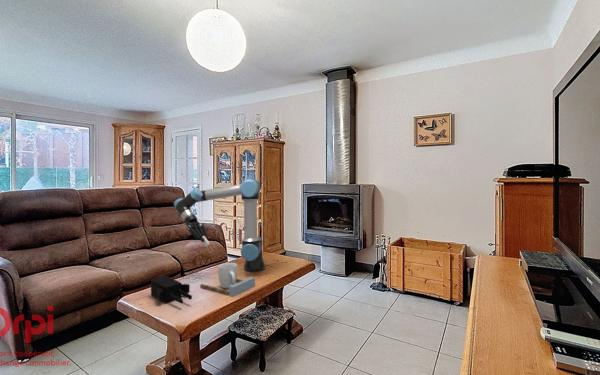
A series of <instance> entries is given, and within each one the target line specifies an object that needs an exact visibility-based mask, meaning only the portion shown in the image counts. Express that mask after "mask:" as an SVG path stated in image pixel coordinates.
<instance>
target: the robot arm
mask: <svg viewBox="0 0 600 375" xmlns="http://www.w3.org/2000/svg"><path fill="white" fill-rule="evenodd" d="M261 189H262V188H261V183H260V181H259V180H256V179H253V178H247V179H245V180H244V181H242V182H240V184H234V185H228V186H221V187H217V188H216V187H215V188H211V189H205V190H200V189H198V188H193V190H191V191H190V192H189V193H188V194H186V196H185V197H184V198H182V197H179V198H178V199H176V200H175V201H174V202H173V206H174V208H175V210H176V211H177V212H178V214H179V215H180V216H181V217H180V218H182V220H183V221H184V223H185V225H186V228H185V230H186V231H188V232H190V234H191V235H192V236H193V237H194V238H195V239H196V240H200V241H201V243H203V245H204V247H206V248H207V247H208V246H209V245H210V242H209V240H208V237H207V236H208V232H207V231H206V228H205V225H204V223H200V222H199V221H198V218H197V217H196V215H195V213H194V212H193V210H192V209H191V208H192V207H193V206H194V205H195V204H196V203H200V202H201V203H202V202H205V201H206V202H207V201H213V200H218V199H223V198H225V199H226V198H230V197H235V196H241V201H242V202H243V227H244V228H243V231H244V232H243V234H244V235H243V238H242V239H241V248H240V254H241V257H242V259H244V260H245V261H244V264H243V271H245V272H250V273H252V272H254V273H255V272H260V271H264V270H265V269H266V264H265V261H264V258H263V237H261V236H258V208H257V207H258V201H259V199H260V192H261Z"/></svg>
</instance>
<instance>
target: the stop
mask: <svg viewBox="0 0 600 375" xmlns="http://www.w3.org/2000/svg"><path fill="white" fill-rule="evenodd" d="M242 280H243V281H241V282H238V283H235V284H234V285H231V286H229V288H228V291H229V295H228V296H230V297H235V296H237V295H239V294H242V293H245V291H247V290H250V289H252V288H254V287H255V286H256V278H255V277H252V276H250V277H247V278H245V279H242Z"/></svg>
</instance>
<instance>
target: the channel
mask: <svg viewBox="0 0 600 375" xmlns="http://www.w3.org/2000/svg"><path fill="white" fill-rule="evenodd" d="M243 280H244V279H240V278H237V280H236V283H238V282H241V281H243ZM236 283H235V284H236ZM199 287H200V289H203V290H206V291H210V292H212V293H213V292H214V293H217V294H221V295H225V296H229V289H225V288H219V287H216V286H212V285H209V284H204V283H201V284H200V286H199Z"/></svg>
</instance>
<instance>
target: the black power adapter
mask: <svg viewBox="0 0 600 375" xmlns="http://www.w3.org/2000/svg"><path fill="white" fill-rule="evenodd" d="M190 289H191V287H190V283H182V282H180V281H178V280H177V279H174V278H173V277H170V276H169V275H163V276H159V277H156V278H152V279H150V296H152V297H154V298H156V299H157V300H158V301H160V302H162V303H163V302H164V303H163V304H164V305H165V304H169V303H172V302H174V301H176V302H178V303H179V304H183V303H184V299H183V298H182V297H185V298H187V299H188V300H193V299H192V298H193V296H192V294H190Z"/></svg>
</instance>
